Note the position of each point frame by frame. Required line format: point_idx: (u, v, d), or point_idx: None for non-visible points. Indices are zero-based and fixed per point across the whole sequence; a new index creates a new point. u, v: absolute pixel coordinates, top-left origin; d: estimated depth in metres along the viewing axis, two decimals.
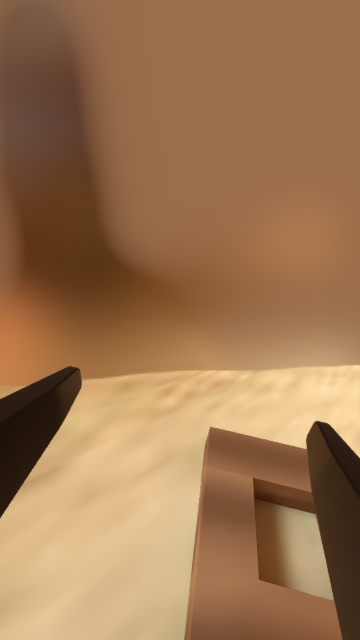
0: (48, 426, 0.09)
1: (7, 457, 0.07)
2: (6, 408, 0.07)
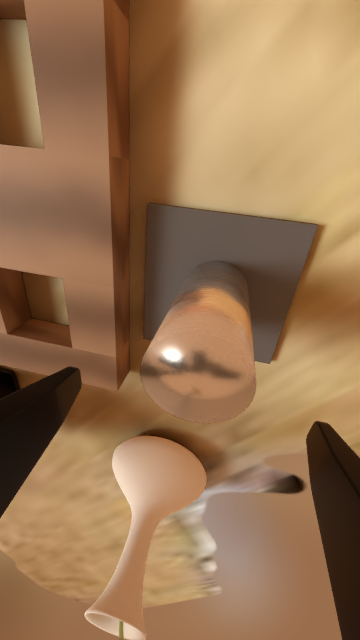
0: (48, 426, 0.09)
1: (7, 457, 0.07)
2: (6, 408, 0.07)
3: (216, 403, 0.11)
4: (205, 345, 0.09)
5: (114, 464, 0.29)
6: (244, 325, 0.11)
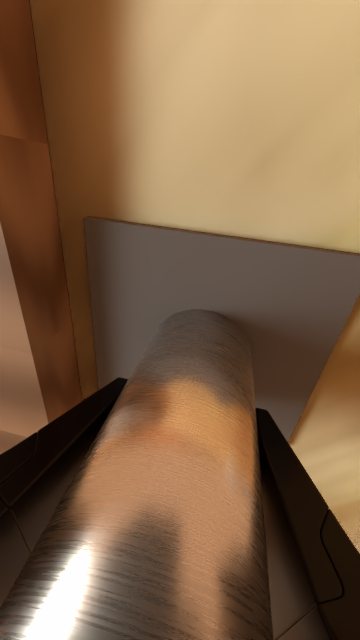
0: None
1: (73, 475, 0.07)
2: (71, 424, 0.07)
3: None
4: None
5: None
6: (248, 538, 0.05)
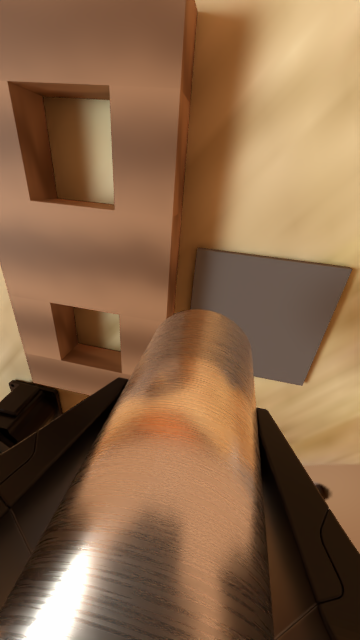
0: None
1: (73, 475, 0.07)
2: (71, 424, 0.07)
3: None
4: None
5: None
6: (249, 539, 0.05)
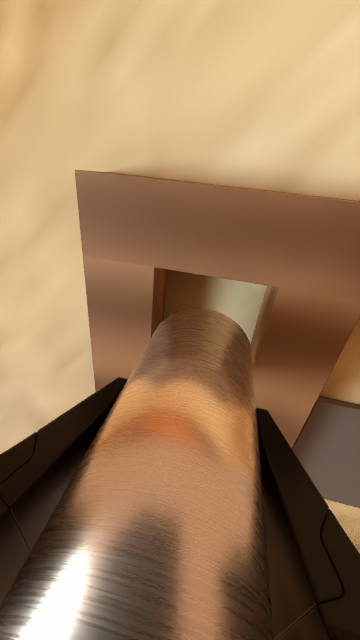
0: None
1: (73, 475, 0.07)
2: (71, 424, 0.07)
3: None
4: None
5: None
6: (248, 538, 0.05)
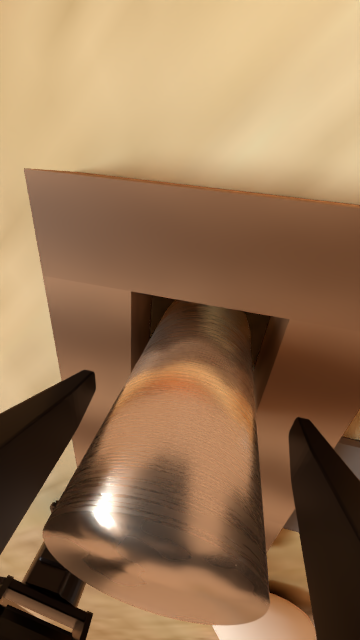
0: (65, 430, 0.09)
1: (27, 463, 0.07)
2: (25, 413, 0.07)
3: (191, 605, 0.06)
4: (159, 537, 0.04)
5: None
6: (245, 440, 0.06)
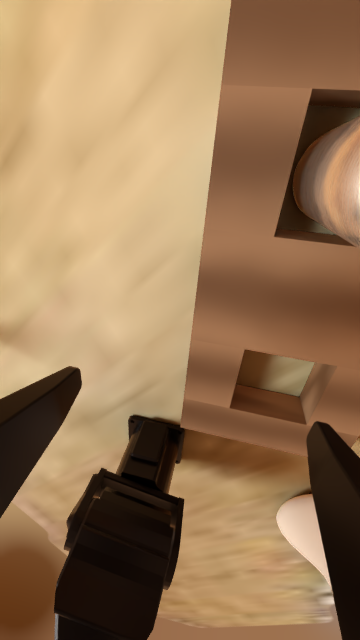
0: (48, 426, 0.09)
1: (7, 457, 0.07)
2: (6, 408, 0.07)
3: None
4: None
5: (289, 521, 0.28)
6: None
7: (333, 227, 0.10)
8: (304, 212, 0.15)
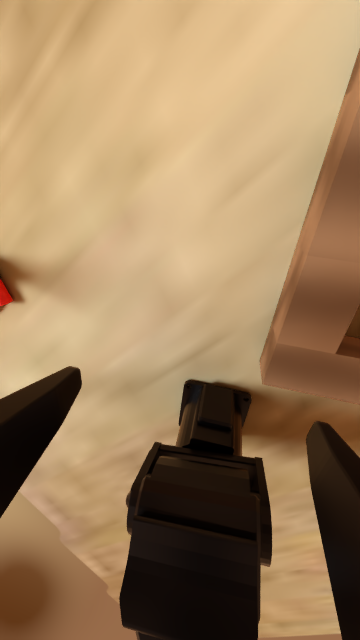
0: (48, 426, 0.09)
1: (7, 457, 0.07)
2: (6, 408, 0.07)
3: None
4: None
5: None
6: None
7: None
8: None
